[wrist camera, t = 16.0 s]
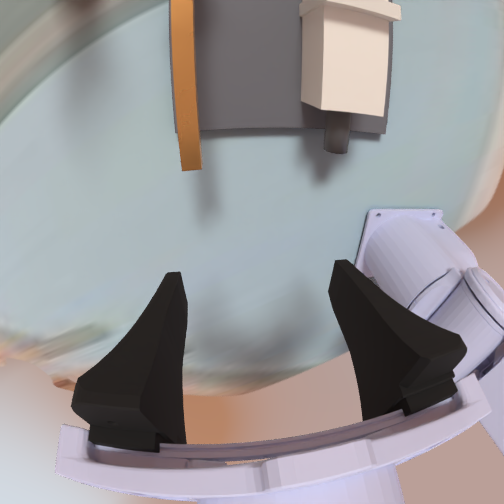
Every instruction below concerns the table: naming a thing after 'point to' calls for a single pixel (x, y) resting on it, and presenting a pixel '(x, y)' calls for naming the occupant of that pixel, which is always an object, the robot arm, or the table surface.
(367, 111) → the plug
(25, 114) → the table surface
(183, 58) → the ball-topped lever
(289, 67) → the grey base plate
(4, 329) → the table surface
